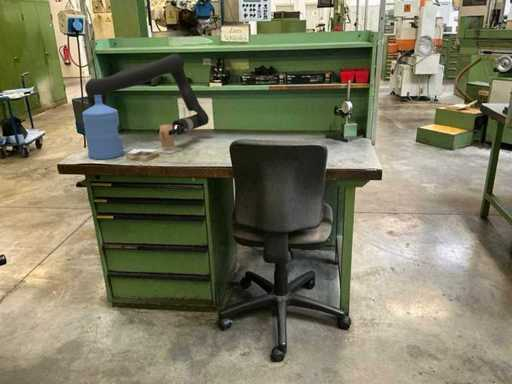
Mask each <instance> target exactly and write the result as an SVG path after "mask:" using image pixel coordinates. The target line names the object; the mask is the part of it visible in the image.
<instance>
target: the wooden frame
mask: <svg viewBox="0 0 512 384" xmlns="http://www.w3.org/2000/svg"><path fill="white" fill-rule="evenodd" d="M143 156H146V157H143ZM157 157H160V153H157V152H153V151H145V150H140V151H137V152H134V153H132V154H129V155H127V156H126V160H129V161H130V160H131V161H138V162H144V163H145V162H149V161H150V160H153V159H156V158H157Z"/></svg>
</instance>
